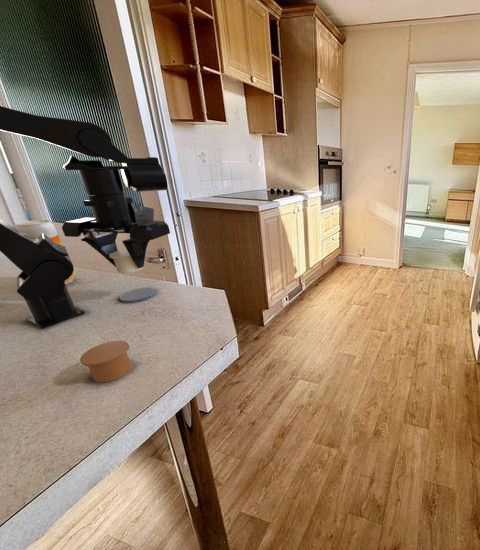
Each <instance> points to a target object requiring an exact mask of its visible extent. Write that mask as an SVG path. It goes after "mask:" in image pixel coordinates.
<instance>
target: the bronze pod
mask: <svg viewBox="0 0 480 550" xmlns="http://www.w3.org/2000/svg"><path fill="white" fill-rule="evenodd" d="M129 350H130V344H129V343H128V342H127V341H124V340H113V341H107V342H104V343H101V344H98V345H96V346H95V345H94V346H93V347H91V348H90V349H88V350H86V351H85V352H84V353H83V354H82V355H81V356H80V358H79V362H80V364H81V365H83V366H84V367H88V369H89V372H90V374H91V376H92V379H93V381H94V382H96V383H99V384H100V383H102V384H105V383H109V382H113V381H115V380H118V379H120V378H123V377H124V376H125V375H127V374H128V373H129V372H130V371H131V369H132V367H133V365H132V363H131V360H130V356H129V355H128V351H129Z"/></svg>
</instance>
